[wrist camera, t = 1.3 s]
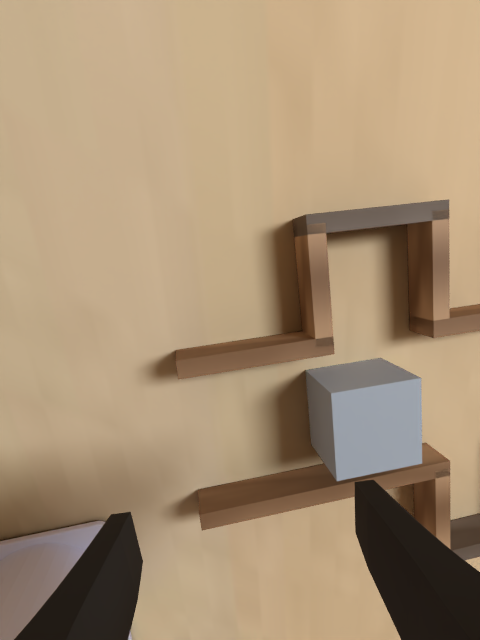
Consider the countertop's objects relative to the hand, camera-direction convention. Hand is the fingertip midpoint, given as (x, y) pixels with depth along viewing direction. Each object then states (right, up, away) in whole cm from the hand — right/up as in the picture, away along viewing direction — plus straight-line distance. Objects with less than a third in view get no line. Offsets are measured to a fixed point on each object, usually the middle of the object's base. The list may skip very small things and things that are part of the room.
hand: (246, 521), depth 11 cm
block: (+6, +1, +11) cm, 13 cm away
